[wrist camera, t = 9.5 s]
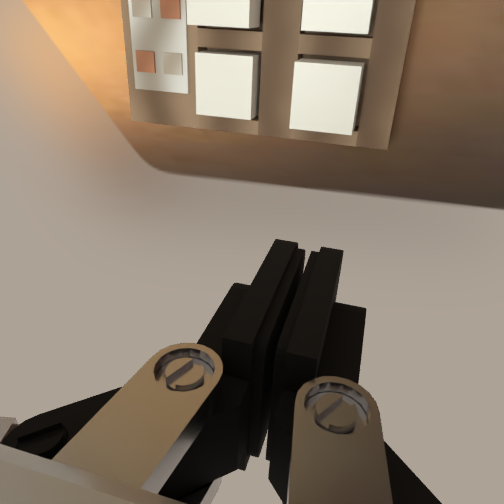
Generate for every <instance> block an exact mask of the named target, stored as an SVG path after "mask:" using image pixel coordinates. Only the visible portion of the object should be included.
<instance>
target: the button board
mask: <svg viewBox="0 0 504 504" xmlns="http://www.w3.org/2000/svg"><path fill="white" fill-rule="evenodd" d="M415 3H416V0H375V4H374V11H373V17H372V24H371V30H370V33H369V34H354V33H337V32H320V31H302V30H301V22H302V10H303V0H261V6H260V27H256V28H236V27H219V26H202V25H187V2H186V0H121V6H122V17H123V28H124V39H125V50H126V61H127V72H128V83H129V95H130V106H131V117H132V121H139V122H148V123H156V124H165V125H174V126H182V127H191V128H200V129H209V130H217V131H226V132H235V133H243V134H252V135H261V136H269V137H278V138H287V139H295V140H304V141H313V142H321V143H330V144H339V145H347V146H356V147H365V148H373V149H382V150H387V148H388V143H389V138H390V132H391V127H392V122H393V117H394V112H395V106H396V101H397V96H398V91H399V86H400V80H401V75H402V70H403V65H404V60H405V54H406V49H407V44H408V39H409V34H410V28H411V23H412V18H413V13H414V8H415ZM204 50H219V51H233V52H247V53H261V54H262V55H261V76H260V97H259V114H258V115H257V116H256V117H254V118H253V119H251V120H245V119H235V118H226V117H217V116H207V115H198V114H196V80H195V52H199V51H204ZM301 58H307V59H321V60H335V61H349V62H363V63H365V64H364V70H363V77H362V83H361V90H360V97H359V103H358V110H357V116H356V123H355V128H354V130H353V133H352V135H344V134H335V133H326V132H317V131H308V130H299V129H289V125H290V113H291V100H292V88H293V76H294V63H295V61H297V60H299V59H301Z"/></svg>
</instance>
